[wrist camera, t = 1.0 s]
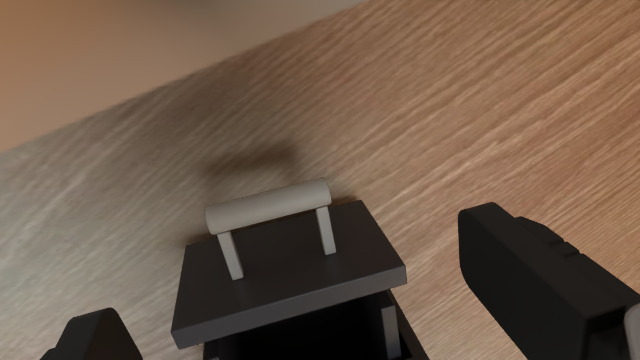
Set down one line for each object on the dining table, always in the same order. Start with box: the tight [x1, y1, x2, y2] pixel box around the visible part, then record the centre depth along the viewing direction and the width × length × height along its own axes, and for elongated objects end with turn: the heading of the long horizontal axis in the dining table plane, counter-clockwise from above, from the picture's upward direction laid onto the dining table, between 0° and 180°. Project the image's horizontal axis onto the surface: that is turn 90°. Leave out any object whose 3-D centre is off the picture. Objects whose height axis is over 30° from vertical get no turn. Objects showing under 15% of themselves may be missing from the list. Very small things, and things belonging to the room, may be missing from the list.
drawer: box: [171, 177, 407, 360], centre depth 24 cm, size 18×11×7 cm, turn 10°
